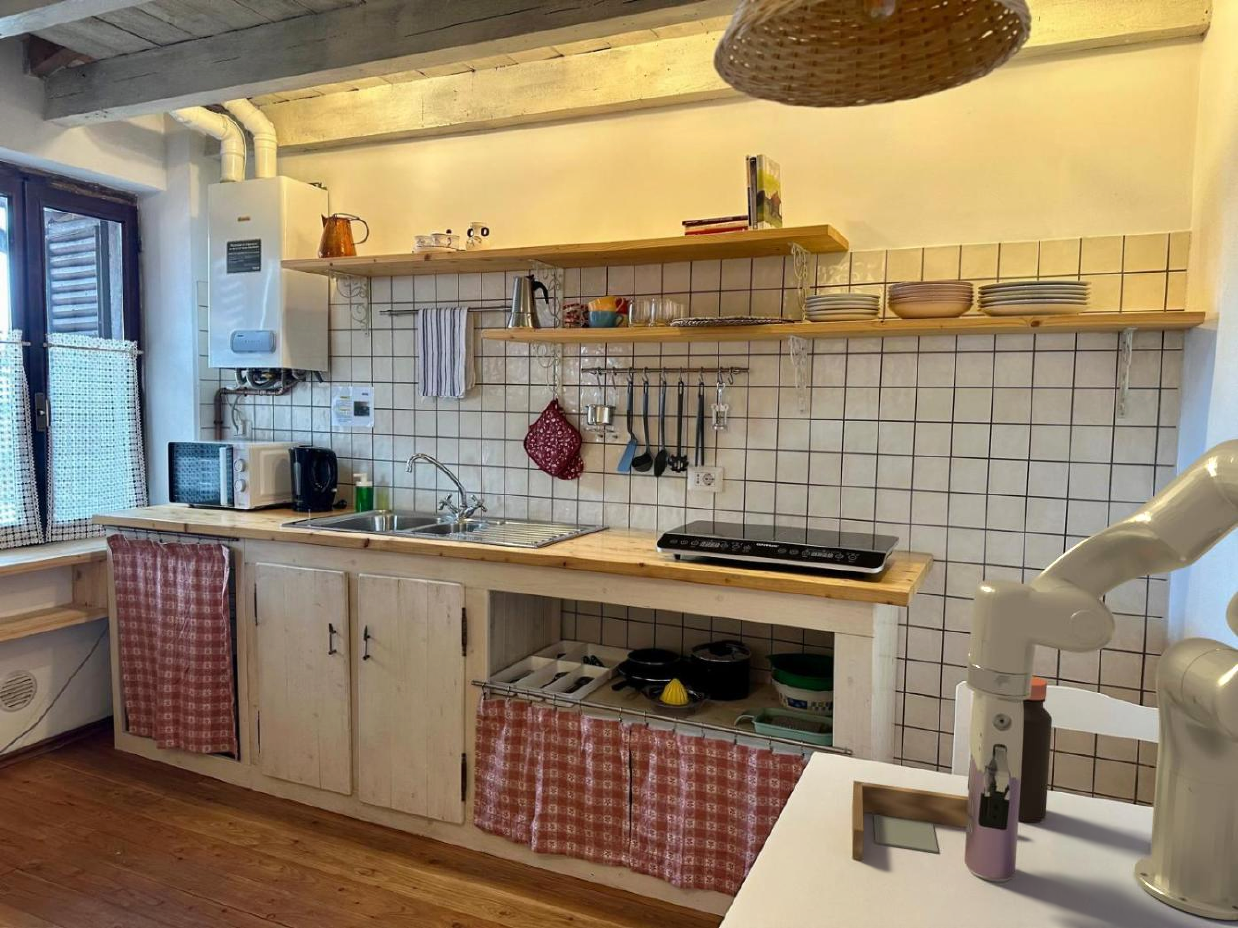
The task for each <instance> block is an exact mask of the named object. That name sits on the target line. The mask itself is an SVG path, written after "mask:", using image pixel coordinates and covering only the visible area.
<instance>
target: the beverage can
mask: <svg viewBox="0 0 1238 928" xmlns="http://www.w3.org/2000/svg"><path fill="white" fill-rule="evenodd" d="M971 754H972V759H971V758H970V761H969V768H970V775H969V774H968V778H969V791H967V792H968V794H967V797H968V809H967V826H966V827H965V828H966V829H965V830H966V831H965V847H964V848H965V850H964V864H965V865H966V868H967V869H968V870H969V872H970V873H972V874H973V875H975V876H976V877H977V878H980V879H982V880H986V881H989V882H994V883H995V882H996V883H1004V882H1008V881H1009V880H1011V879H1012V878H1013V877H1014V875H1015V873H1016V865H1017V864H1016V862H1017V859H1016V858H1017V847H1018V833H1019V832H1018V830H1019V821H1018V817H1019V801H1020V785H1021V777H1020V778H1019V779H1018V780H1014V778H1013V777H1011V776H1010V774H1009V788H1010V789H1009V791H1010V802H1009V812H1008V822H1007V829H1006V830H999V829H993V828H988V827H982V826H980V825H979V823H978V817H979V807H980V797H981V793H984V782H983V774H981V773H980V772H979V771H978V769H977V767H976V764H975V761H974V756H973V753H971ZM993 755H994V753H993ZM988 769H990V770H996V769H995V768H990V767H988ZM992 780H995V778H991V777H990V784H991V782H992Z"/></svg>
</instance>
